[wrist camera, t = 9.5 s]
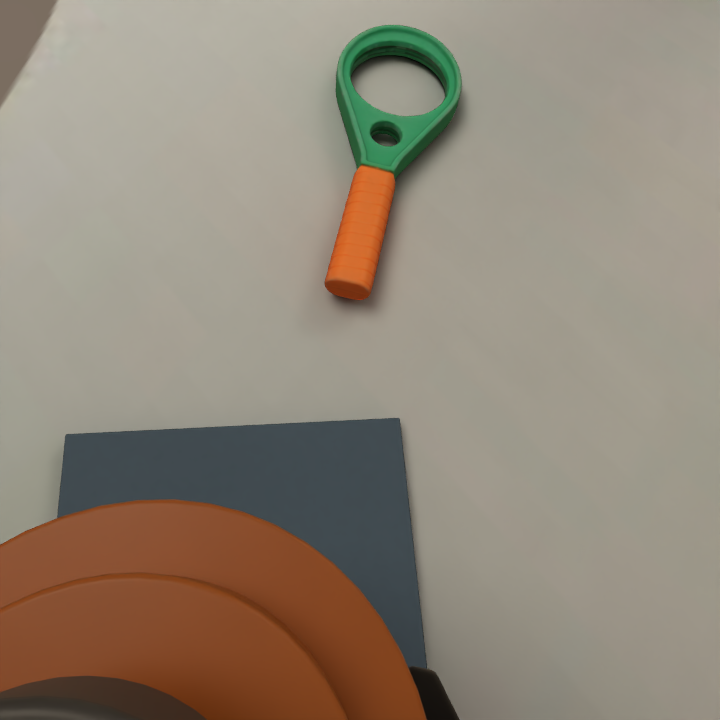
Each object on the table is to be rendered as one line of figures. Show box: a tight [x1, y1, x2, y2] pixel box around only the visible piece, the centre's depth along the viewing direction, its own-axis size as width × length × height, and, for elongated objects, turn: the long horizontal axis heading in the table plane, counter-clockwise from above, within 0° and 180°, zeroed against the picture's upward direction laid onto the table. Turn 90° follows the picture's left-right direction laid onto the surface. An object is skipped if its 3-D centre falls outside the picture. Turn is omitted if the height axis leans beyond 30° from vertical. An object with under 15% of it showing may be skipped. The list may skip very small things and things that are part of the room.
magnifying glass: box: [325, 25, 462, 300], centre depth 26 cm, size 15×6×2 cm, turn 168°
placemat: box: [57, 418, 427, 669], centre depth 19 cm, size 15×12×1 cm
